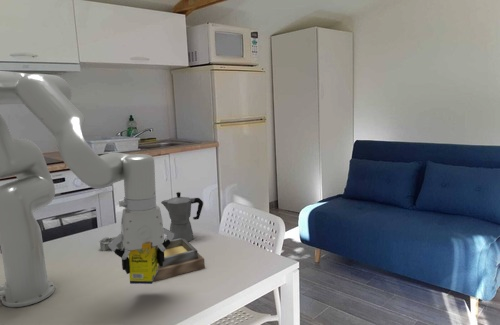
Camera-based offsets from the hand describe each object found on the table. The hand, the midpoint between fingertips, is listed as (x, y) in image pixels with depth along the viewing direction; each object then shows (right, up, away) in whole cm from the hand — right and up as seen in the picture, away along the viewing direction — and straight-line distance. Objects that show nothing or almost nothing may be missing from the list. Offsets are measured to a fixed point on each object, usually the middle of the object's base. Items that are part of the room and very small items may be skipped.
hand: (143, 267), depth 98 cm
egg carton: (-20, -3, +37) cm, 42 cm away
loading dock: (+3, -5, +20) cm, 21 cm away
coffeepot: (+3, -1, +42) cm, 42 cm away
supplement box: (0, -3, +1) cm, 3 cm away
